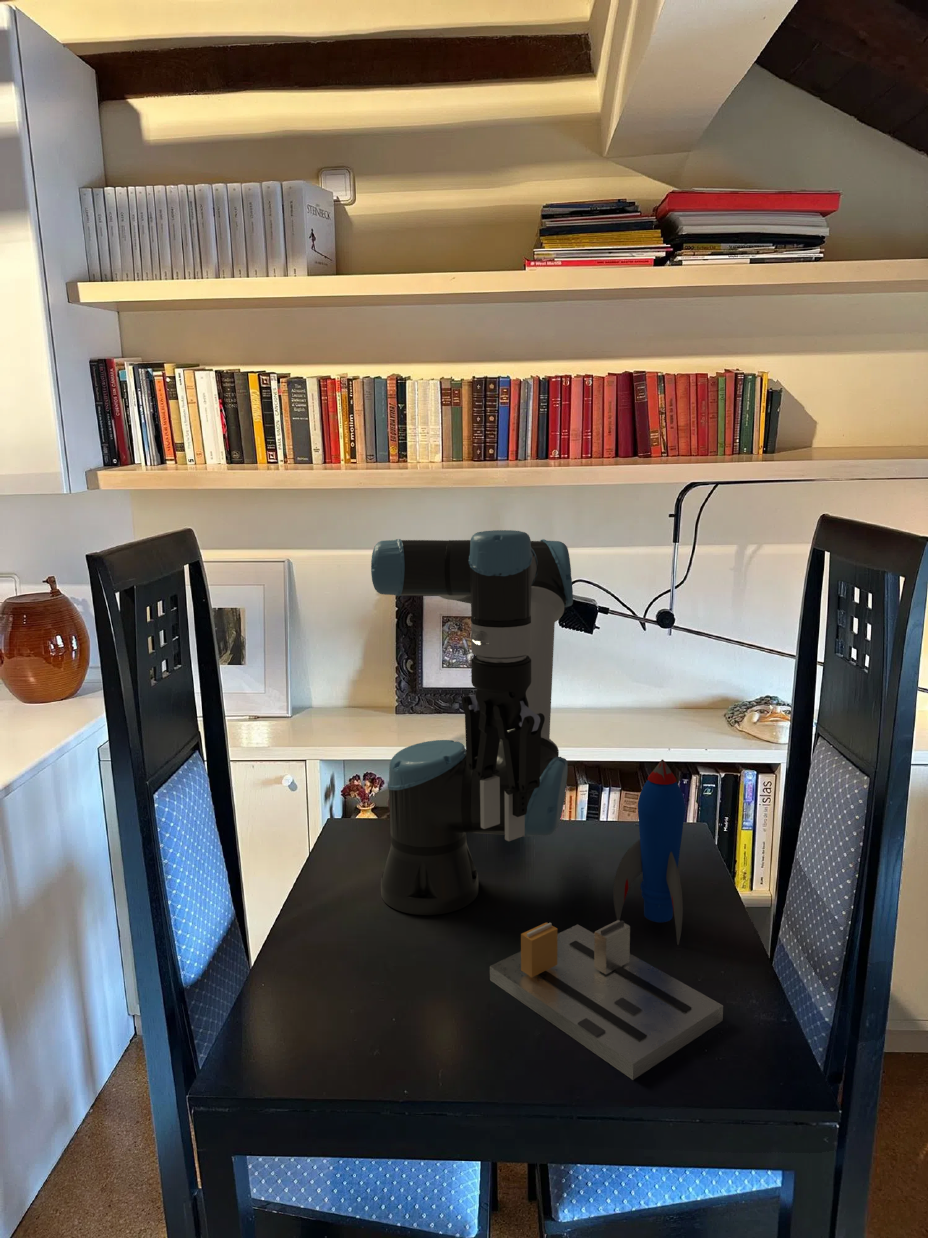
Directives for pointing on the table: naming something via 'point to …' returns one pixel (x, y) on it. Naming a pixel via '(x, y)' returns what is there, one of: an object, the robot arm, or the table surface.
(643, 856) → the toy rocket
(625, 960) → the console
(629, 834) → the table surface
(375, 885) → the table surface
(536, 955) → the fader
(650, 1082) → the table surface
